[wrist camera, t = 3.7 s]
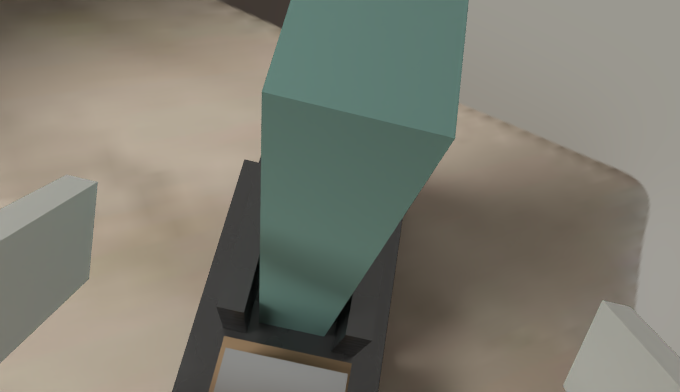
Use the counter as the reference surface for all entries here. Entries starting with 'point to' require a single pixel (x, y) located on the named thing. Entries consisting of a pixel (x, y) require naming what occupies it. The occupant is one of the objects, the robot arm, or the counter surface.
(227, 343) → the block
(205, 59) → the counter surface
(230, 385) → the offcut top
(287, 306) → the plank
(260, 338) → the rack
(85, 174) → the counter surface
